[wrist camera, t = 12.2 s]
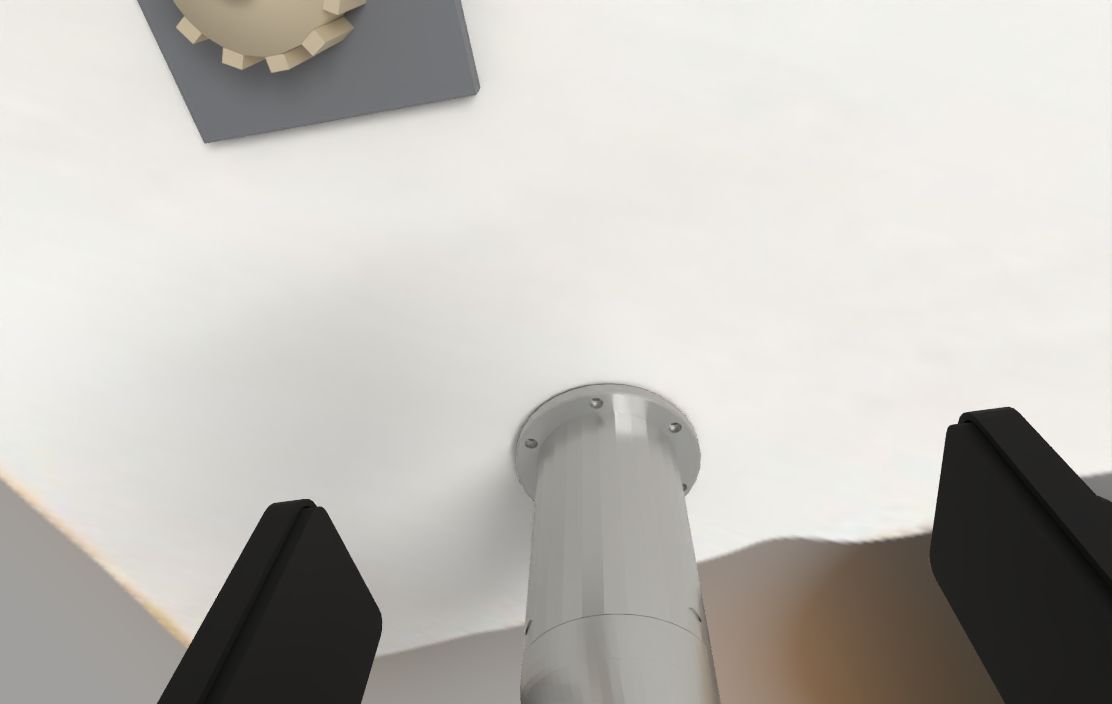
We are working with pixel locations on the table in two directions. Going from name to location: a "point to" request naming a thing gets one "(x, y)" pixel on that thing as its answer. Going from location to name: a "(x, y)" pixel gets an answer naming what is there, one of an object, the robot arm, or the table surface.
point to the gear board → (309, 59)
